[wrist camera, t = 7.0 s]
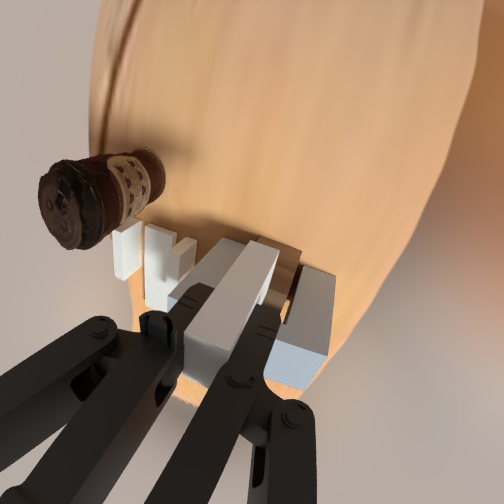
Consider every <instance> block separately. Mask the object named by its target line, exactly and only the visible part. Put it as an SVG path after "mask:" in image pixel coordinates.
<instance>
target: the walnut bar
mask: <svg viewBox="0 0 504 504" xmlns="http://www.w3.org/2000/svg"><path fill="white" fill-rule="evenodd" d="M257 243H260V244H263V245H266V246H269V247H272V248H275V249H278V250H280V251H279V255H278V258H277V261H276V264H275V268H274V271H273V274H272V277H271V281H270V284H269V287H268V290H267V293H266V295H265V298H264V300H263V302H262V304H261V305H262V306H265V307H268V308H270V309H273V310H276V311H279V312H280V313H281V310H282V308H283V305H284V303H285V301H286V298H287V296H288V293H289V290H290V287H291V284H292V281H293V278H294V275H295V272H296V269H297V265H298V262H299V259H300V256H301V253H302V251H301V250H298V249H295V248H292V247H290V246H287V245H284V244H282V243H279V242H276V241H273V240H271V239H268V238H265V237H262V236H260V238H259V239H258V241H257Z"/></svg>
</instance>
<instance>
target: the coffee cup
mask: <svg viewBox="0 0 504 504" xmlns="http://www.w3.org/2000/svg"><path fill="white" fill-rule="evenodd" d="M165 181H166V174H165V170H164V167H163V165H162V163H161V161H160V159H159V158H158V157H157V156H156V154H155V153H154V152H152V151H150V150H149V149H147V148H142V149H136V150H134V151H133V152H131V153H126V152H125V153H121V154H116V155H115V154H103V155H97V156H94V157H90V158H86V159H81V160H78V161H73V160H61V161H59V162H57V163H55V164H53V165H52V166H51V167H50V170H49V172H48V173H47V174H45V175H44V176H41V178H40V182H39V189H38V201H39V207H40V211H41V215H42V218H43V220H44V222H45V224H46V226H47V228H48V230H49V232H50V233H51V234H52V235H53V236H54V237H55V238H56V239H57V240H58V242H59V243H60V245H61V246H62V247H64V248H66V249H67V250H73V249H75V248H76V249H81V250H87V249H90V248H92V247H93V246H95V245H96V244H98V243H99V242H100V241H101V240H102V239H103V238H104V237H105V236H107V235H108V234H110V233H111V232H112V231H113V230H115V229H116V228H118V227H120V226H121V225H123V224H124V223H125V222H127V221H128V220H129V219H131V218H132V217H134V216H135V215H137V214H138V213H140V212H141V211H142V210H143V209H144V207H145V206H146V205H148V204H149V203H151V202H153V201H155V200H156V199H157V198H158V197H159V196H160V195H161V194H162V193H163V191H164V188H165Z"/></svg>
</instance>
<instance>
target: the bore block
mask: <svg viewBox="0 0 504 504" xmlns="http://www.w3.org/2000/svg"><path fill="white" fill-rule="evenodd" d="M246 246H247V245H245V244H242V243H239V242H236V241H233V240H230V239H227V238H225V237H222V238H221V240H220V241H219V242H218V243H217V244H216V245H215V246H214V247H213V248H212V249H211V250H210V251H209V252H208V253H207V254H206V255H205V256H204V257H203V258H202V259H201V260H200V262H199V263H198V264H197V265H196V266H195V267H194V268H193V269H192V270H191V271H190V272H189V273H188V274H187V275H186V276H185V277H184V279H183V280H182V281H181V282H180V283H179V284H178V285H177V286H176V287H175V288H174V289H173V290H172V292H171V293H170V294H169V295H168V296H167V313H168V312H169V310H170V309H171V308H172V307H173V306H174V305H175V303H177V301H178V300H179V299H180V297H181V296H183V294H184V293H185V291H186V290H187V289H188V288H189V287H190V286H193V285H195V284H197V283H199V282H200V283H203V284H205V285H208V286H210V287H213V288H216V287H217V285H218V284H219V283H220V281H221V280H222V279H223V277H224V276H225V274H226V273H227V272H228V270H229V269H230V268H231V266H232V265H233V263H234V262H235V261H236V259H237V258H238V257H239V255H240V254H241V252H242V251H243V250H244V248H245V247H246ZM335 283H336V276H334V275H331V274H328V273H325V272H322V271H319V270H316V269H314V268H311V267H308V266H305V265H304V266H303V269H302V272H301V274H300V277H299V280H298V282H297V285H296V287H295V290H294V293H293V295H292V298H291V300H290V303H289V306H288V309H287V313H286V316H285V319H284V322H283V324H282V323H281V325H280V328H279V330H278V333H277V336H276V339H275V342H274V344H273V347H272V350H271V353H270V355H269V358H268V361H267V364H266V366H265V369H264V374H263V375H264V378H265V379H268V380H271V381H274V382H277V383H280V384H283V385H286V386H289V387H292V388H295V389H299V390H302V391H304V390H305V389H306V388H307V386H308V385H309V383H310V382H311V380H312V379H313V377H314V376H315V375H316V373H317V372H318V370H319V369H320V367H321V366H322V364H323V363H324V361H325V360H326V358H327V356H328V349H329V341H330V333H331V325H332V316H333V306H334V295H335Z"/></svg>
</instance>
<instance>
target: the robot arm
mask: <svg viewBox="0 0 504 504" xmlns="http://www.w3.org/2000/svg"><path fill="white" fill-rule="evenodd" d="M279 251H280V250H278V249H275V248H272V247H269V246H266V245H263V244H260V243H257V242H254V241H252V240H250V242H249V243H248V244H247V246H246V247H245V248H244V250H243V251H242V252H241V254H240V255H239V257H238V258H237V259H236V261H235V262H234V263H233V265H232V266H231V268H230V269H229V270H228V272H227V273H226V274H225V276H224V277H223V279H222V280H221V281H220V283H219V284H218V285H217V287H216V288H213V287H210V286H208V285H205V284H203V283H200V282H199V283H197V284H195V285H193V286H190V287H189V288H188V289H187V290H186V291H185V293H184V294H183V296H181V297H180V299H179V300H178V301H177V303H175V305H174V306H173V307H172V308H171V309H170V310H169V312H168V313H167V312H163V311H160V310H152V311H148V312H145V313H143V314H142V315H141V316H139V322H140V331H141V332H131V331H126V330H121V329H117V325H116V323H115V322H114V320H112V319H110V318H109V317H106V316H95V317H92V318H90V319H88V320H86V321H85V322H83V323H82V324H80V325H78V326H77V327H75V328H74V329H72V330H71V331H69V332H68V333H66V334H64V335H63V336H61V337H60V338H58V339H56V340H55V341H53V342H52V343H50V344H48V345H47V346H45V347H44V348H42V349H41V350H39V351H38V352H36V353H35V354H33V355H31V356H30V357H28V358H27V359H25V360H24V361H22V362H21V363H19V364H18V365H16V366H15V367H13V368H12V369H10V370H9V371H7V372H6V373H4V374H3V375H1V376H0V472H1V471H3V470H4V469H6V468H7V467H8V466H10V465H11V464H13V463H14V462H15V461H17V460H18V459H20V458H21V457H22V456H24V455H25V454H26V453H28V452H29V451H31V450H32V449H33V448H35V447H36V446H38V445H39V444H40V443H42V442H43V441H44V440H46V439H47V438H48V437H50V436H51V435H52V434H54V433H55V432H56V431H58V430H59V429H60V428H62V427H63V426H64V425H66V424H67V423H68V424H67V425H66V426H65V427H64V429H63V430H62V431H61V433H60V434H59V435H58V437H57V438H56V439H55V441H54V442H53V443H52V445H51V446H50V447H49V449H48V450H47V451H46V453H45V454H44V455H43V457H42V458H41V459H40V461H39V462H38V464H37V465H36V466H35V468H34V469H33V470H32V472H31V473H30V475H29V476H28V477H27V479H26V480H25V481H24V482H23V483H22V484H21V485H18V486H14V487H11V488H9V489H7V490H6V491H5V492H4V493H3V494H2V496H1V497H0V504H103V502H104V501H105V499H106V498H107V496H108V494H109V493H110V491H111V490H112V488H113V486H114V485H115V483H116V482H117V480H118V479H119V477H120V476H121V474H122V472H123V471H124V469H125V468H126V466H127V464H128V463H129V461H130V460H131V458H132V457H133V455H134V453H135V452H136V450H137V449H138V447H139V446H140V444H141V442H142V441H143V439H144V438H145V436H146V434H147V433H148V431H149V430H150V428H151V426H152V425H153V423H154V422H155V420H156V418H157V417H158V415H159V414H160V412H161V410H162V409H163V407H164V406H165V404H166V402H167V401H168V399H169V398H170V396H171V394H172V393H173V391H174V390H175V388H176V385H177V378H178V377H179V375H180V374H181V372H182V370H183V375H182V377H184V378H186V379H188V380H191V381H193V382H195V383H197V384H199V385H202V386H204V387H206V388H209V389H208V391H207V393H206V395H205V396H204V398H203V400H202V402H201V404H200V406H199V408H198V409H197V411H196V413H195V415H194V417H193V418H192V420H191V422H190V424H189V426H188V428H187V429H186V431H185V433H184V435H183V437H182V439H181V440H180V442H179V444H178V445H177V447H176V449H175V451H174V453H173V454H172V456H171V458H170V460H169V461H168V463H167V465H166V467H165V469H164V470H163V472H162V474H161V475H160V477H159V479H158V480H157V482H156V484H155V486H154V487H153V489H152V491H151V492H150V494H149V496H148V498H147V499H146V501H145V503H144V504H208V502H209V499H210V498H211V496H212V493H213V491H214V489H215V487H216V485H217V483H218V481H219V479H220V476H221V474H222V472H223V470H224V467H225V465H226V463H227V461H228V459H229V456H230V454H231V452H232V450H233V447H234V445H235V443H236V440H237V438H238V436H239V434H241V435H242V436H243V437H244V438H246V439H247V440H248V441H250V442H251V443H252V444H253V447H252V458H251V469H250V479H249V491H248V501H247V504H317V467H316V435H315V418H314V414H313V411H312V410H311V409H310V408H309V406H308V405H307V404H305V403H304V402H302V401H299V400H295V399H287V400H283V399H282V398H280V397H279V396H277V395H276V394H274V393H273V392H272V391H271V390H270V389H269V388H268V386H267V385H266V383H265V381H264V375H263V374H264V369H265V366H266V364H267V361H268V358H269V355H270V353H271V350H272V347H273V344H274V342H275V339H276V336H277V333H278V330H279V328H280V325H281V317H280V312H279V311H276V310H273V309H270V308H268V307H265V306H262V305H261V304H262V302H263V300H264V298H265V295H266V293H267V290H268V287H269V284H270V281H271V277H272V274H273V271H274V268H275V264H276V261H277V258H278V255H279Z"/></svg>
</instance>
